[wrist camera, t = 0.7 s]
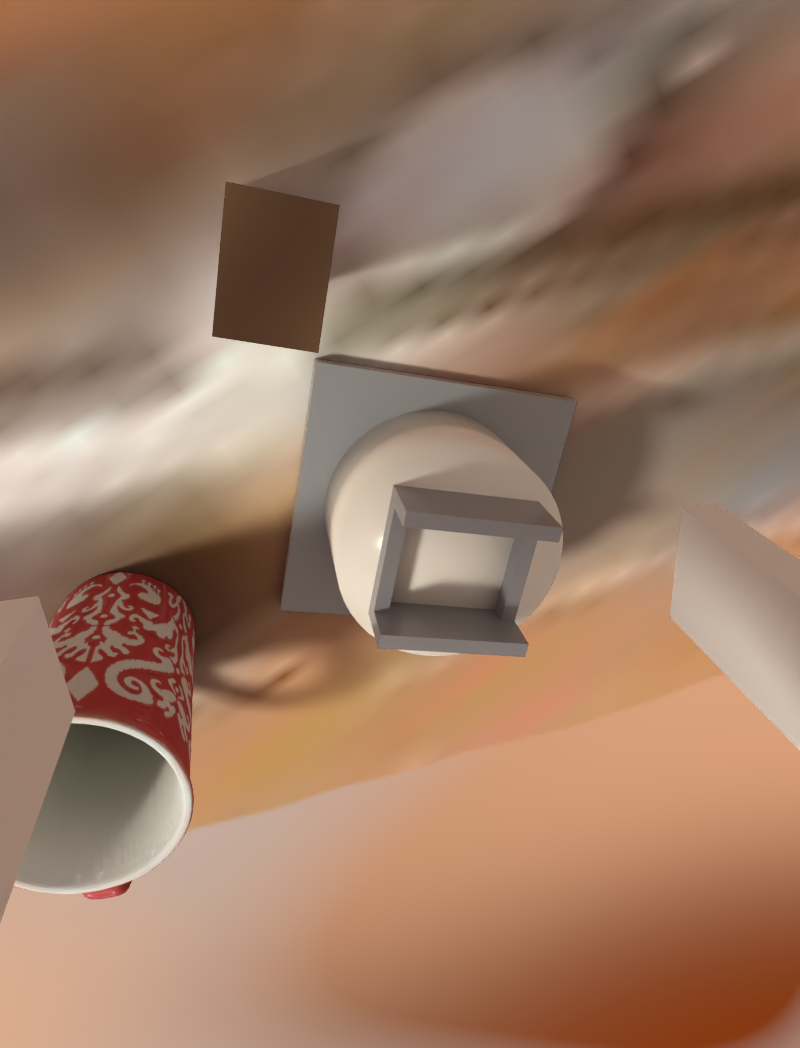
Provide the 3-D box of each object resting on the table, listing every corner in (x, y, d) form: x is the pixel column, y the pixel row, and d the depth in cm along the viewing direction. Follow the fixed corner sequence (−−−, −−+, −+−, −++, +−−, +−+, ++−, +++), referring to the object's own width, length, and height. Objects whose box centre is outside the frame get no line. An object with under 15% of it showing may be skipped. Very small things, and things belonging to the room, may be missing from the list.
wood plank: (228, 279, 34) (212, 336, 20) (236, 186, 32) (225, 181, 19) (292, 291, 35) (318, 352, 21) (304, 200, 33) (339, 205, 20)
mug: (26, 554, 37) (-81, 726, 25) (208, 552, 39) (188, 712, 27) (54, 748, 42) (-24, 968, 30) (214, 738, 44) (200, 942, 32)
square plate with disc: (279, 603, 41) (287, 713, 32) (314, 358, 36) (335, 411, 27) (508, 619, 45) (571, 723, 36) (571, 398, 39) (662, 456, 31)
